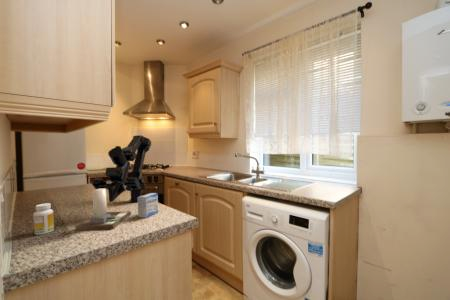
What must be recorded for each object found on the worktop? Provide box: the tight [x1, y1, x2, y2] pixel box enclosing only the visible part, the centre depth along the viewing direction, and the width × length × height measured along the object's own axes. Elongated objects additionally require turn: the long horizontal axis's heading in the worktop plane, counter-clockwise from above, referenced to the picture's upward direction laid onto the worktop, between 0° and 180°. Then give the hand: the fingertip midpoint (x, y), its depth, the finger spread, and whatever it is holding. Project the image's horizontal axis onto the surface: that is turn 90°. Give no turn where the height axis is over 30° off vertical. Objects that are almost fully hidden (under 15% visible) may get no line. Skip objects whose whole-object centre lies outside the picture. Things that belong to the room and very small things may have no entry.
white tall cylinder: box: [90, 188, 115, 224], centre depth 80 cm, size 5×8×12 cm, turn 92°
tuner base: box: [75, 210, 132, 231], centre depth 84 cm, size 16×13×2 cm
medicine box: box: [137, 192, 159, 219], centre depth 92 cm, size 8×4×9 cm, turn 161°
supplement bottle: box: [33, 202, 55, 235], centre depth 76 cm, size 5×5×10 cm
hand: (110, 201), depth 88 cm, fingers closed
